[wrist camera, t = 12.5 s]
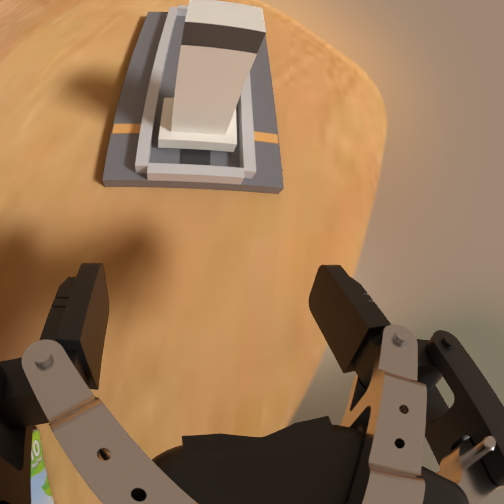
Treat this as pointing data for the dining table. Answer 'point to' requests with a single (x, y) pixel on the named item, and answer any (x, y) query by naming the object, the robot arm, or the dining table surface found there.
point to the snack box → (39, 474)
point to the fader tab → (211, 75)
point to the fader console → (189, 160)
